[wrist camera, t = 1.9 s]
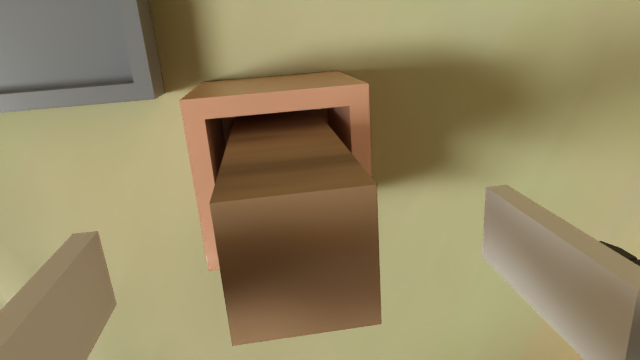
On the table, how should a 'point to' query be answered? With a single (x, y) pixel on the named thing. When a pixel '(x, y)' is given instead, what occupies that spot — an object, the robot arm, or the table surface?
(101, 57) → the charcoal tray
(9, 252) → the table surface
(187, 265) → the table surface
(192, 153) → the square pink sleeve
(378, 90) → the table surface
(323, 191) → the walnut peg
